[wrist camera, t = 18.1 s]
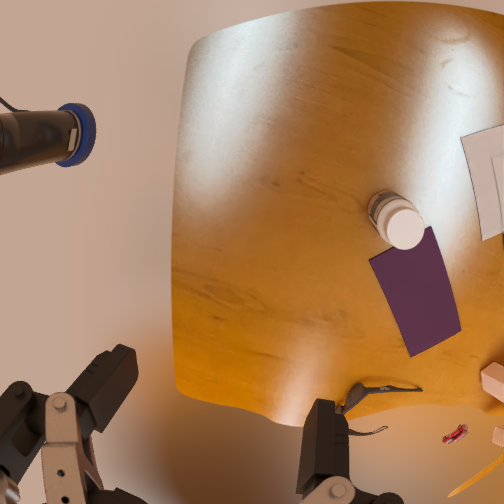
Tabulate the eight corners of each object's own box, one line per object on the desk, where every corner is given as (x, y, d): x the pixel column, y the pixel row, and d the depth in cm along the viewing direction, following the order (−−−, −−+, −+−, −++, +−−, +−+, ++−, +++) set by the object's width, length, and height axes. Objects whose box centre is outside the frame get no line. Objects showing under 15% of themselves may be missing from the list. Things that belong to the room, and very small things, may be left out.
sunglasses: (360, 369, 48) (365, 389, 44) (423, 379, 49) (431, 396, 44) (321, 418, 55) (323, 436, 50) (382, 423, 55) (386, 439, 51)
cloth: (368, 259, 41) (369, 260, 40) (430, 225, 37) (431, 226, 37) (410, 356, 45) (410, 357, 45) (460, 329, 42) (461, 330, 41)
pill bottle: (408, 220, 37) (434, 243, 28) (374, 235, 39) (391, 262, 30) (395, 183, 36) (420, 196, 27) (360, 199, 38) (375, 216, 29)
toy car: (440, 438, 53) (442, 446, 50) (463, 421, 50) (466, 430, 47) (446, 440, 53) (448, 448, 50) (468, 424, 50) (471, 432, 47)
